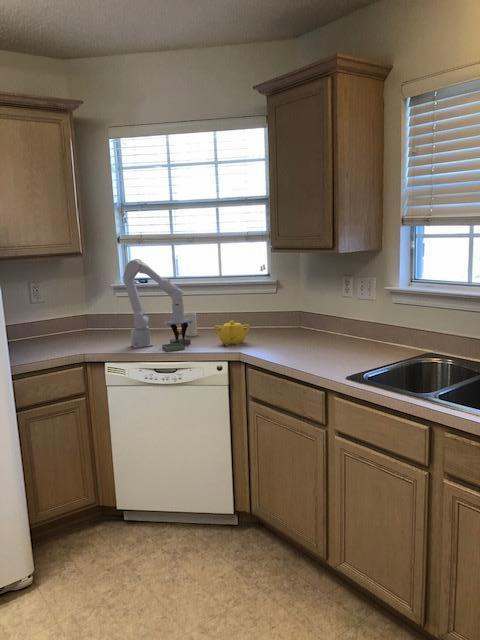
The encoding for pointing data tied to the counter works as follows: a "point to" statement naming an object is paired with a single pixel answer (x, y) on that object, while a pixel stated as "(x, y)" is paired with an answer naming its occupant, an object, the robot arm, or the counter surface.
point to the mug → (191, 324)
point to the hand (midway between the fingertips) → (180, 338)
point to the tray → (173, 347)
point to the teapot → (232, 333)
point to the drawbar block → (181, 341)
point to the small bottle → (180, 335)
